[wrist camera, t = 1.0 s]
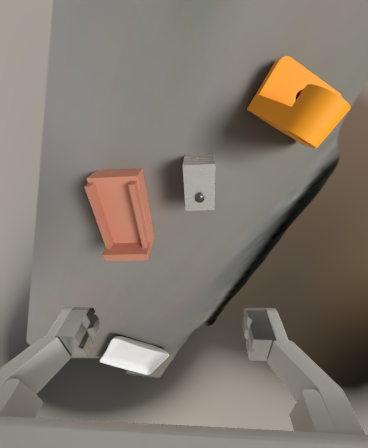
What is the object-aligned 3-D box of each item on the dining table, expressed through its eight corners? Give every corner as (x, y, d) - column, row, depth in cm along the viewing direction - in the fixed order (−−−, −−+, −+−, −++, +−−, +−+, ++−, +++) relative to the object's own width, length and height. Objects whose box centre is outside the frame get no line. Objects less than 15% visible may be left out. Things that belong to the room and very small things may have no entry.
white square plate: (101, 353, 80) (98, 363, 78) (115, 328, 70) (112, 339, 67) (150, 366, 85) (149, 376, 82) (171, 345, 74) (170, 355, 71)
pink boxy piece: (95, 170, 38) (76, 186, 32) (142, 168, 37) (131, 184, 31) (116, 237, 47) (104, 260, 40) (154, 237, 46) (148, 260, 40)
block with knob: (184, 155, 36) (182, 166, 30) (212, 153, 35) (215, 164, 30) (186, 196, 40) (185, 211, 35) (211, 195, 40) (214, 211, 34)
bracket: (334, 96, 30) (403, 99, 20) (298, 142, 34) (341, 163, 24) (277, 55, 28) (322, 34, 18) (245, 109, 31) (268, 116, 21)
